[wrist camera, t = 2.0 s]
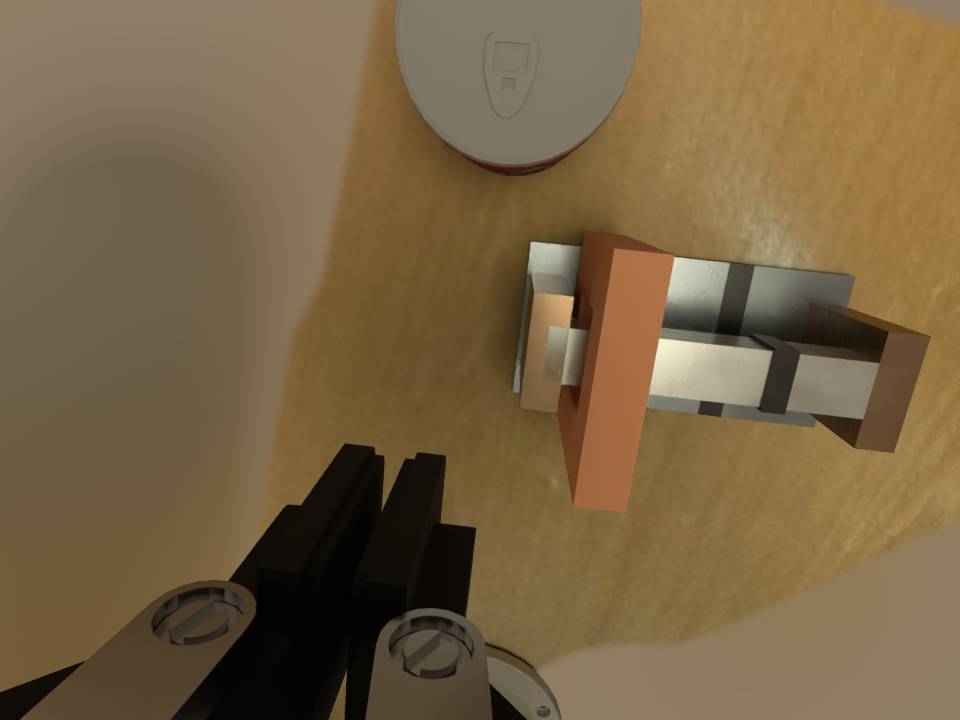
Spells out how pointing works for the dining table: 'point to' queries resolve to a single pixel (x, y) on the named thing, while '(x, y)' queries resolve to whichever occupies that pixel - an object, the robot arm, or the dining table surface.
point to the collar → (613, 366)
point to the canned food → (516, 73)
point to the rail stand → (736, 347)
